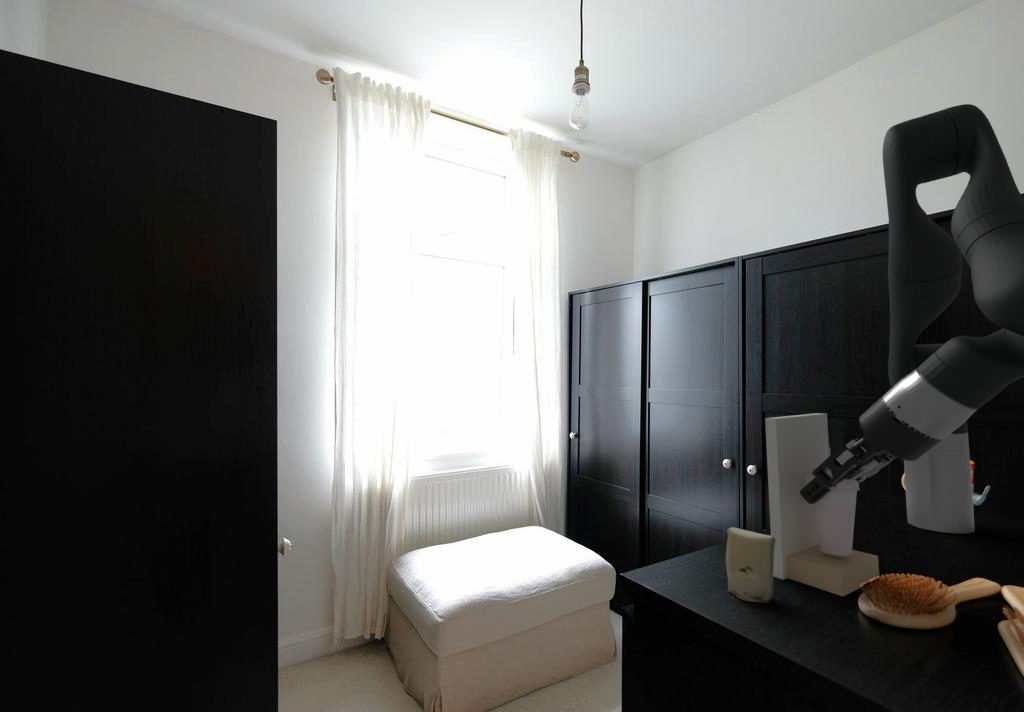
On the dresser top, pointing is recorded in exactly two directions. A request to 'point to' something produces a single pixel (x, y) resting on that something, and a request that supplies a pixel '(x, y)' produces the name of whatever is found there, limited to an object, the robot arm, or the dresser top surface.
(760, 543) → the cream rounded block
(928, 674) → the dresser top surface
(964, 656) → the dresser top surface
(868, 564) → the wall board
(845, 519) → the smoothie
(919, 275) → the robot arm
